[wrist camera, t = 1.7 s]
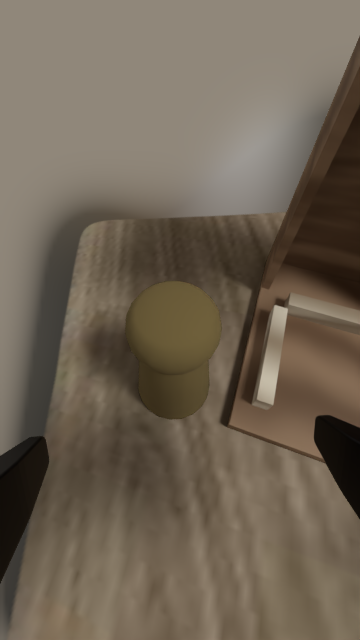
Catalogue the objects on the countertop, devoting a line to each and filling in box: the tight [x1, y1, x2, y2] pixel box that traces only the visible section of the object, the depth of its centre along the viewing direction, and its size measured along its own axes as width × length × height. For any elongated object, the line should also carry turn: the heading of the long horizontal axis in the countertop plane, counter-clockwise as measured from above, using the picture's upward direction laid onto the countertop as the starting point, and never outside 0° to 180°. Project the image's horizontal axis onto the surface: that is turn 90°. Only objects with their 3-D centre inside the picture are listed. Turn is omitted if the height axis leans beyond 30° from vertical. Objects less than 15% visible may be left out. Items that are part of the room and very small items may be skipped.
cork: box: [125, 281, 222, 419], centre depth 17 cm, size 6×6×11 cm
